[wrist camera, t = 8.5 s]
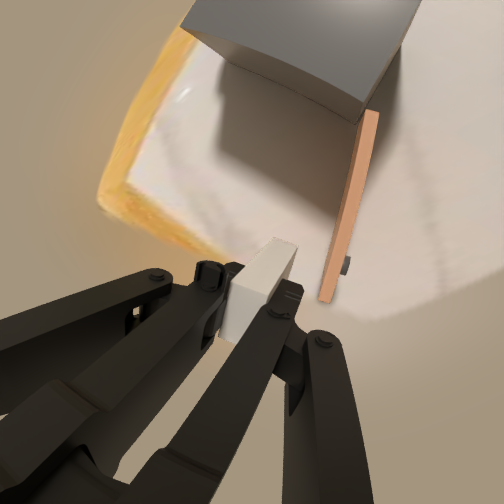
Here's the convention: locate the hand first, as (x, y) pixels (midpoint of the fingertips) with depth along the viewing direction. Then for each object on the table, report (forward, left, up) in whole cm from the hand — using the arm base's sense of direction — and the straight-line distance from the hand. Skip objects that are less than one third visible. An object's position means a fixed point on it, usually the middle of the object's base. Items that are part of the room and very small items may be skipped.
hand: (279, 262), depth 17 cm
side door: (-3, -4, -16) cm, 16 cm away
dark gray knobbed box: (+10, -17, -17) cm, 26 cm away
